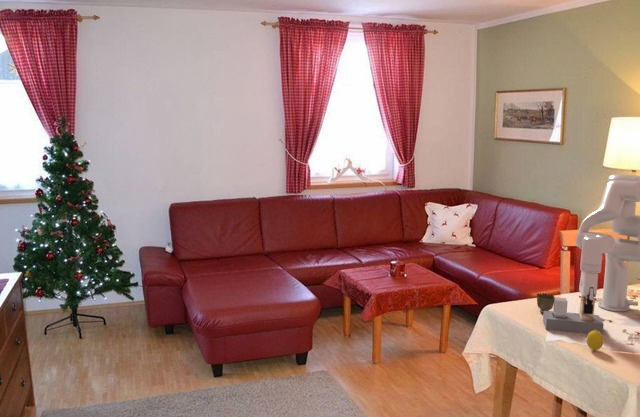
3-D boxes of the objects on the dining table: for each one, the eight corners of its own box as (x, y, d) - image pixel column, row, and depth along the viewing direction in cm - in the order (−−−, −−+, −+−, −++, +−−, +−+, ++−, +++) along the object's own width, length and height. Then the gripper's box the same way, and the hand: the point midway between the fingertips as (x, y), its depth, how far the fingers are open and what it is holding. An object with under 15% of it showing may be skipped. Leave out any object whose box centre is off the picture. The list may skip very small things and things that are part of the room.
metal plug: (563, 325, 240) (565, 298, 238) (565, 328, 236) (567, 301, 234) (552, 323, 241) (554, 297, 239) (553, 327, 237) (555, 300, 235)
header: (597, 326, 239) (598, 315, 238) (602, 336, 230) (603, 323, 229) (542, 321, 244) (543, 310, 243) (545, 330, 235) (546, 318, 234)
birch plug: (590, 323, 237) (592, 296, 235) (592, 327, 233) (595, 299, 231) (578, 322, 238) (581, 295, 236) (580, 326, 234) (583, 298, 232)
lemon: (594, 354, 212) (596, 333, 211) (582, 348, 217) (584, 328, 216) (605, 352, 214) (607, 331, 213) (593, 346, 219) (595, 326, 218)
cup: (555, 316, 251) (556, 298, 250) (537, 315, 252) (538, 297, 251) (551, 310, 258) (553, 293, 257) (534, 309, 260) (535, 292, 258)
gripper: (576, 261, 240) (573, 303, 243) (584, 272, 224) (580, 317, 227) (596, 262, 238) (592, 305, 242) (605, 273, 222) (601, 319, 225)
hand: (586, 310), depth 234 cm, fingers closed on birch plug, 4 cm apart
